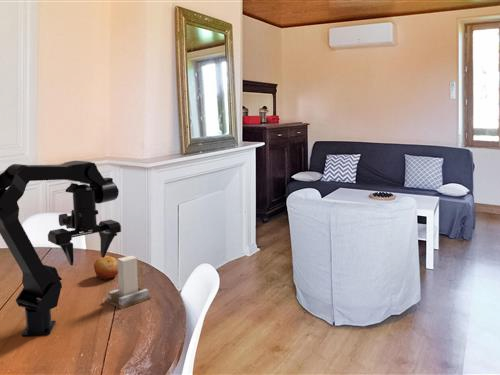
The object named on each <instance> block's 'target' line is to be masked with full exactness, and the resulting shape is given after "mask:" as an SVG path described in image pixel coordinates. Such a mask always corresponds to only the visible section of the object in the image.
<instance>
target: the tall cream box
mask: <svg viewBox="0 0 500 375" xmlns="http://www.w3.org/2000/svg"><path fill="white" fill-rule="evenodd" d="M117 261H118V274H117V275H118V277H117V278H118V280H117V281H118V289H119V295H120V296H121V297H122V296H125V295H128V294H131V293H134V292H137V291H138V285H139V280H138V257H136V256H134V255H127V256H123V257H119V258H117Z"/></svg>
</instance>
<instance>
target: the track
mask: <svg viewBox="0 0 500 375" xmlns="http://www.w3.org/2000/svg"><path fill="white" fill-rule="evenodd" d="M107 293H108V297H107V298H105V300H106V302H108V303H110V304H112V305H113V306H116V307H117V308H118V309H120V310H123V309H125V308H127V307H130V306H133V305H136V304H139V303H141V302H145V301H147V300H151V299H152V296H151V295H149V289H147V288H145V287H143V286H141V285H139V284H138V291H137V292H134V293H131V294H128V295H125V296H122V297H121V296H120V295H119V288H117V289H113V290H111V291H108V292H107Z"/></svg>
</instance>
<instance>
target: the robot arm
mask: <svg viewBox="0 0 500 375" xmlns="http://www.w3.org/2000/svg"><path fill="white" fill-rule="evenodd" d="M62 180H65V181H70V182H71V183H70V185H69V186H68V187H66V189H64V190H65V192H66V193H69V194H70V193H71V194H72V204H73V206H72V207H73V208H72V209H71V213H70V214H71V215H68V213H60V214H58V224H59V226H60V227H63V226H65V228H66V229H65V228H58V229H52V230H49V232H48V234H47V241H48V242H50V243H51V244H54V245H56V246H58V247H60V248H61V250H62V251H63V253H64V255H65V257H66V259H67V261H68V264H69V265H70V266H72V267H73V266H74V261H75V260H74V243H73V242H71V241H72V240H73V238H76V237H81V236H88V235H91V234H97V233H98V235H99V239H100V258H101V257H102V258H104V257H105V256H107V252H108V250H109V248H110V245H111V243H112V242H113V240H114V238H115V236H116V237H117V236H118V233H121V232H122V225H121V223H120V221H116V220H113V219H107V220H100V221H99V223H98V224H97V215H99V210H98V209H97V208H96V207H97V206H96V204H103V203H106V202H111V201H115V200H116V199H118V197H119V188H118V186H117V184H116V183H115V182H114V180H113V177H103V175H102V174H101V172H100V171H99V169H98V167H97V164H96V163H95V162H94V161H83V160H72V161H71V160H70V161H67V162H64V163H60V164H19V163H18V164H17V163H14V164H11V165H9V166H8V167H7V168H6V169H5V170H3V172H1V173H0V236H1V237H2V239H3V241H4V242H5V244H6V246H7V248H8V250H9V251H10V253H11V254H12V257H13V258H14V260H15V261H16V263H17V265H18V267H19V269H20V270H21V273H22V279H21V283H22V286H23V288H22V289H21V291H20V293H19V294H18V295H17V297H16V298H15V302H16V305H17V306H18V307H19V308H21V307H22V308H24V312H25V325H26V327H25V328H24V330H23V332H22V333H21V337H32V336H33V337H34V336H45V335H50V334H52V331H53V329H54V328H55V325H56V323H57V321H56V320H52V309H55V308H57V307H58V305H59V304H58V303H59V299H60V295H61V291H62V288H63V284H62V280H63V278H62V277H61V276H60V275H59V273H58V269H57V268H56V267H54V266H51V265H47V264H44V263H43V261H42V260H41V258H40V257H39V254H38V253H37V250H36V248H35V247H34V245H33V243H32V242H31V240H30V237H29V236H28V234H27V233H26V231H25V228H24V227H23V225H22V223H21V222H20V219H19V214H20V206H19V204H18V202H19V201H20V199H21V198H22V196H24V194H25V190H26V188H27V186H28V184H29V183H30V182H36V181H37V182H38V181H40V182H41V181H62ZM73 182H75V183H73ZM76 182H78V183H80V184H78V183H76ZM67 229H72V230H67Z"/></svg>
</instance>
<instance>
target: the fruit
mask: <svg viewBox="0 0 500 375" xmlns="http://www.w3.org/2000/svg"><path fill="white" fill-rule="evenodd" d="M93 269H94V273H95V275H96V277H98V278H99V279H102V280H105V281H107V280H109V279H112V278H114V277H116V276H117V275H118V259H116V257H113V256H111V255H110V256H109V255H105V257H104V258H102V257H101V256H100V257H99V258H98V259H96V260H95V262H94V263H93Z"/></svg>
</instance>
